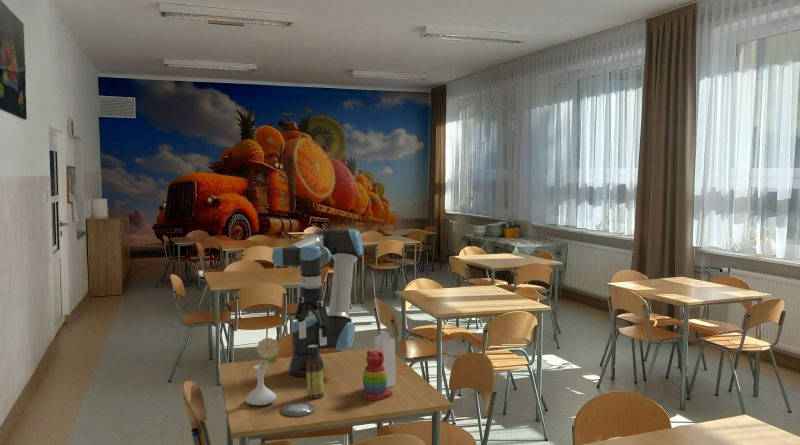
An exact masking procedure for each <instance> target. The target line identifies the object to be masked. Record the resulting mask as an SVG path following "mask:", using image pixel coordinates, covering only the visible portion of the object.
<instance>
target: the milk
mask: <svg viewBox="0 0 800 445" xmlns="http://www.w3.org/2000/svg"><path fill="white" fill-rule="evenodd" d="M379 332H380V333H379V334H378V335H377V336H376V337H375V338H374V351H379V352H382V353H383V356H384V361H383V364H382V365H383V366H384V367H385V370H386V375H387V386H386V389H387V388H391V387H394V386H396V339H394V338H392V337H390V332H387V331H384V330H379Z"/></svg>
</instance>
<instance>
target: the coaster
mask: <svg viewBox="0 0 800 445" xmlns="http://www.w3.org/2000/svg"><path fill="white" fill-rule="evenodd" d="M315 411H316V407H315V405H314V404H312V403H309V402H293V403H289V404H285V405H284V406H283V407H281V414H282V413H283V414H284V415H283V414H282V415H283V416H285V415H287V416H286V417H289V416H291V417H292V418H300V417H306V416H309V415H311V414H313V413H315ZM291 417H290V418H291Z"/></svg>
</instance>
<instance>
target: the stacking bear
mask: <svg viewBox="0 0 800 445" xmlns="http://www.w3.org/2000/svg"><path fill="white" fill-rule="evenodd" d="M383 361H384V356H383V353H382V352H379V351H375V350H372V351H371V350H367V351H366V363H367V365H365V369H364V371H363V375H362V385H363V398H365V400H369V401H380V400H385V399H388V398H390V397H392V396H393V392H392V390H390V389H387V388H386V386H387V375H386V370H385V367H384V366H383V365H382V364H383Z"/></svg>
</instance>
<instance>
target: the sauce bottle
mask: <svg viewBox="0 0 800 445" xmlns="http://www.w3.org/2000/svg"><path fill="white" fill-rule="evenodd" d="M308 354H309V356H308V357H309V358H308V360H307V363H306V376H307V377H306V388H307V389H306V391H307V392H306V393H307V397H308V398H309V399H321V398H322V397H323V396H324V375H323V374H324V372H323V371H322V365H321V362H320V359H319V357H318V345H309V346H308Z"/></svg>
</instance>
